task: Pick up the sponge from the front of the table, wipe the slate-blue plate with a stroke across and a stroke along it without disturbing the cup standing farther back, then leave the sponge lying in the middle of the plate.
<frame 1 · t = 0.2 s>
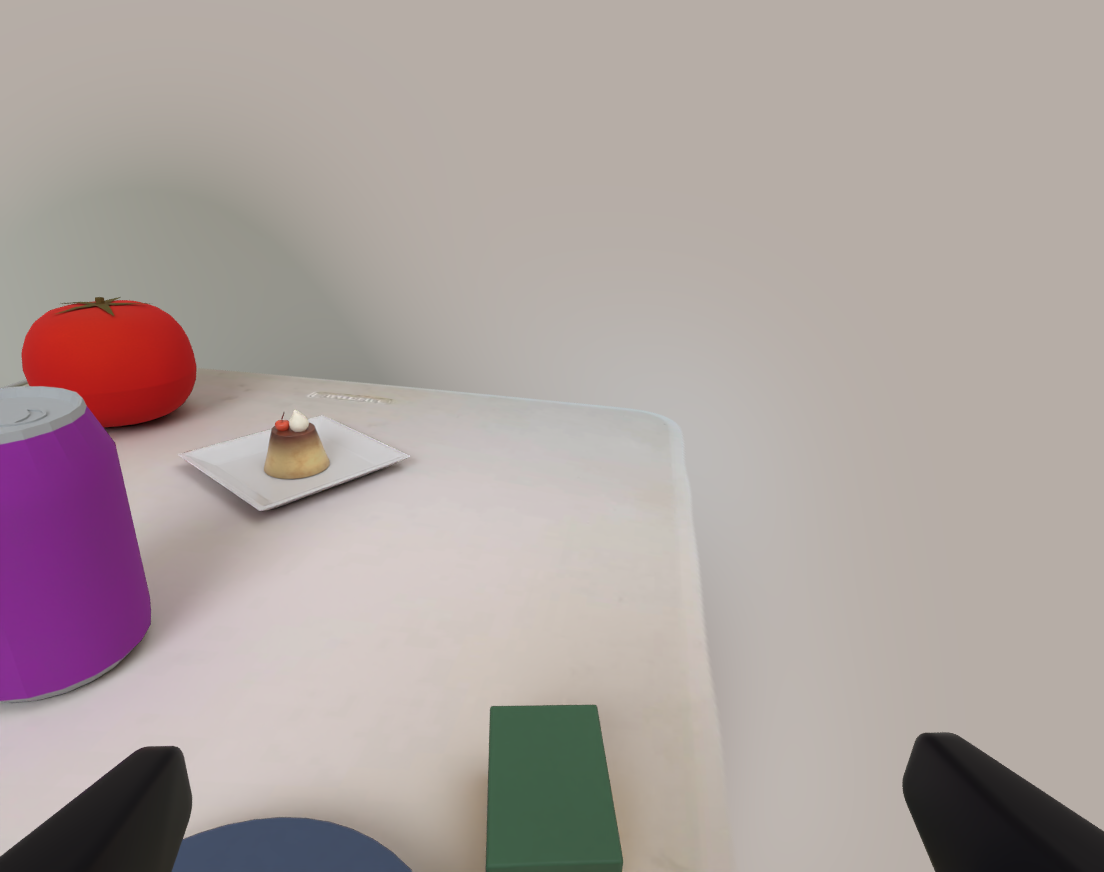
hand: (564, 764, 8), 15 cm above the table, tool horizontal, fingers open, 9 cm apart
dessert: (298, 470, 49), on the table
beverage can: (62, 655, 30), on the table
sponge: (544, 845, 23), on the table
tomato: (126, 422, 56), on the table
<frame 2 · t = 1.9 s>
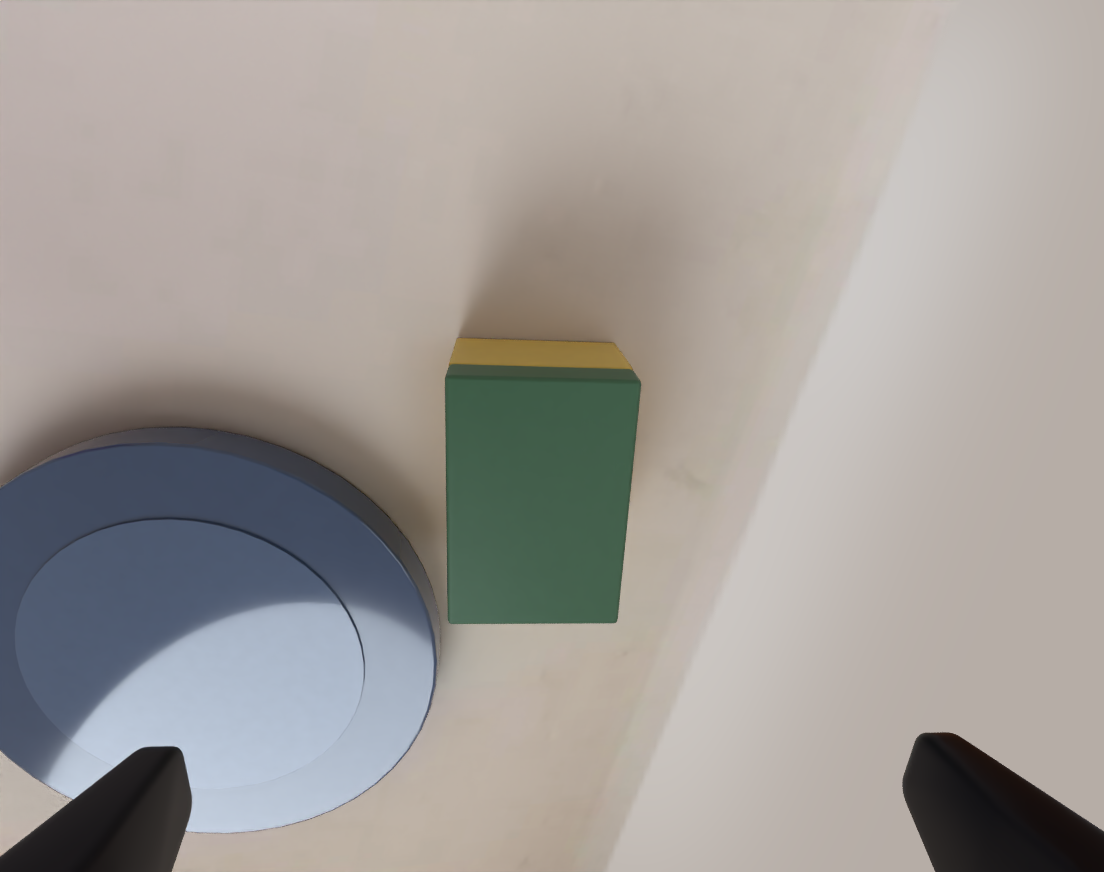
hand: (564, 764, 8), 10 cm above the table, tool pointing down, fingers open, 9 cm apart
plate: (214, 636, 19), on the table
sponge: (532, 450, 17), on the table
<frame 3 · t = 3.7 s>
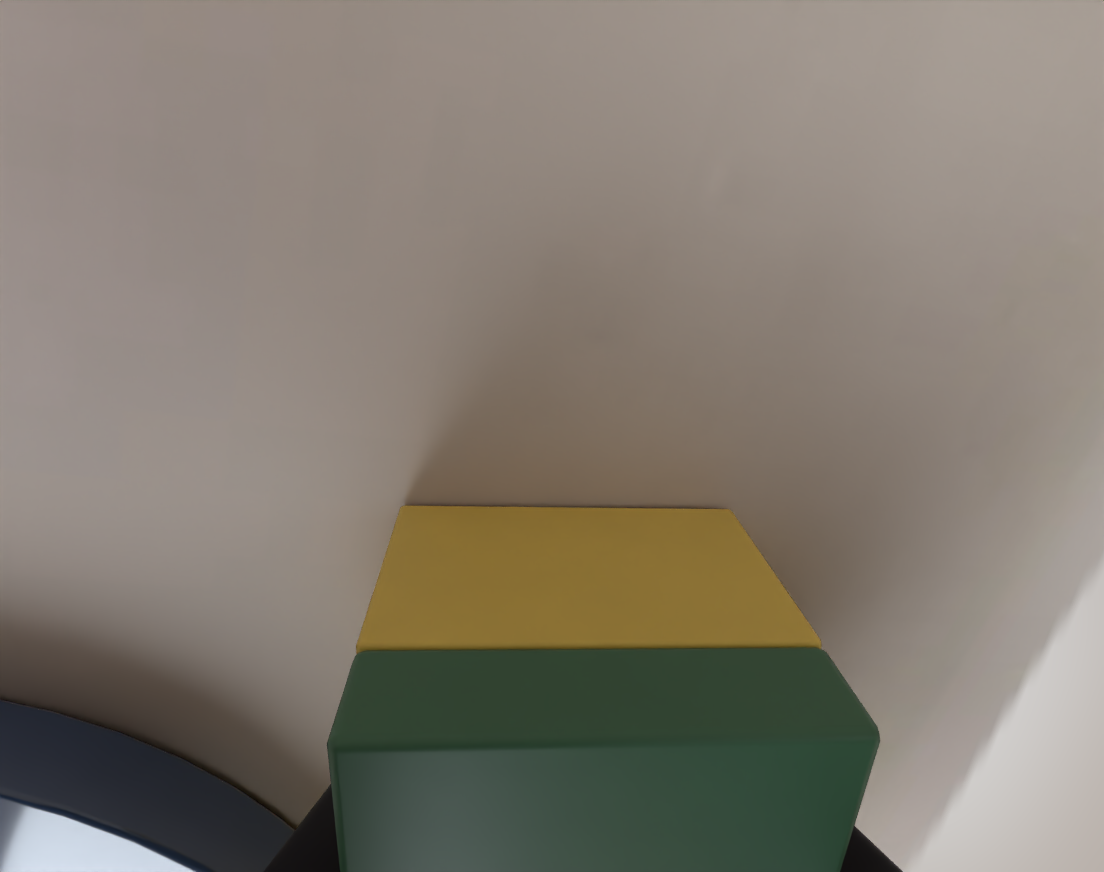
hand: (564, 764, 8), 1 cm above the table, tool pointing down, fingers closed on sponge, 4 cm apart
sponge: (556, 700, 9), on the table, touching gripper
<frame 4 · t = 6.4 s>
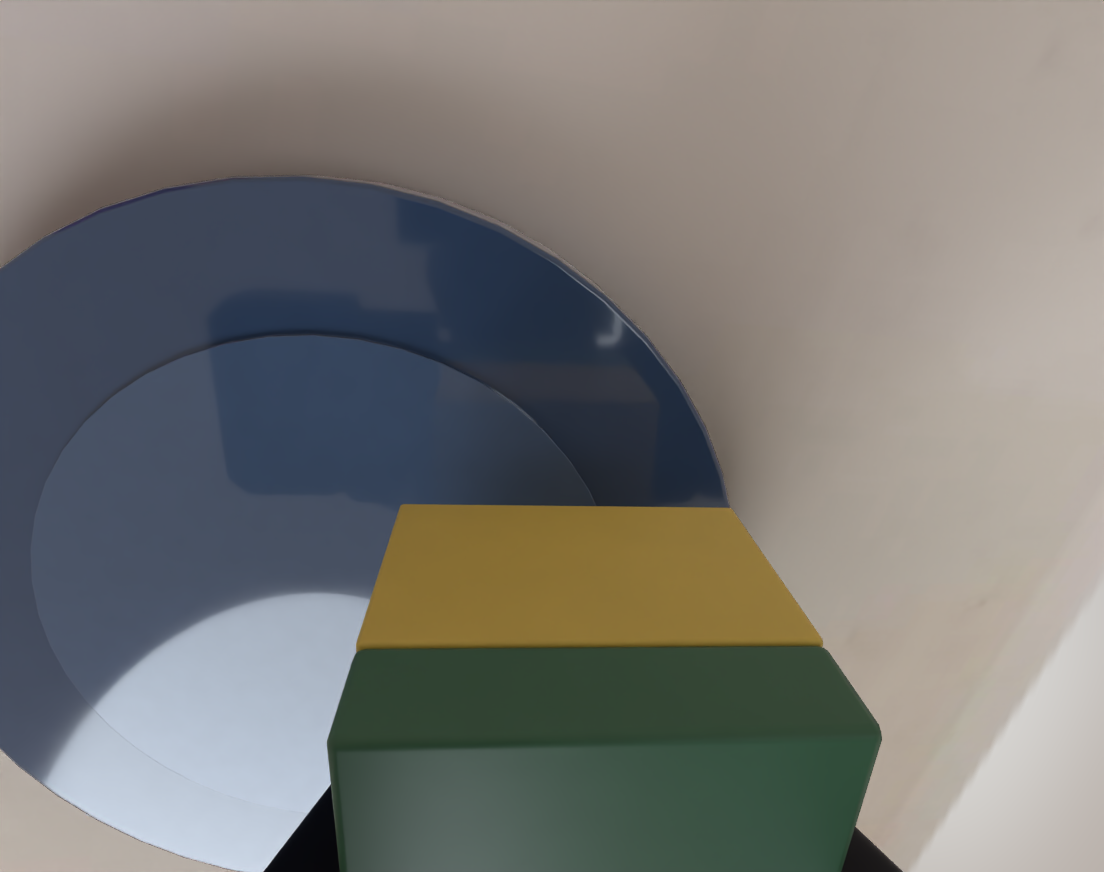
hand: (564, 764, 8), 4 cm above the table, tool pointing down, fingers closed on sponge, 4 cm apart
plate: (354, 569, 12), on the table
sponge: (556, 700, 9), point 3 cm above the table, touching gripper
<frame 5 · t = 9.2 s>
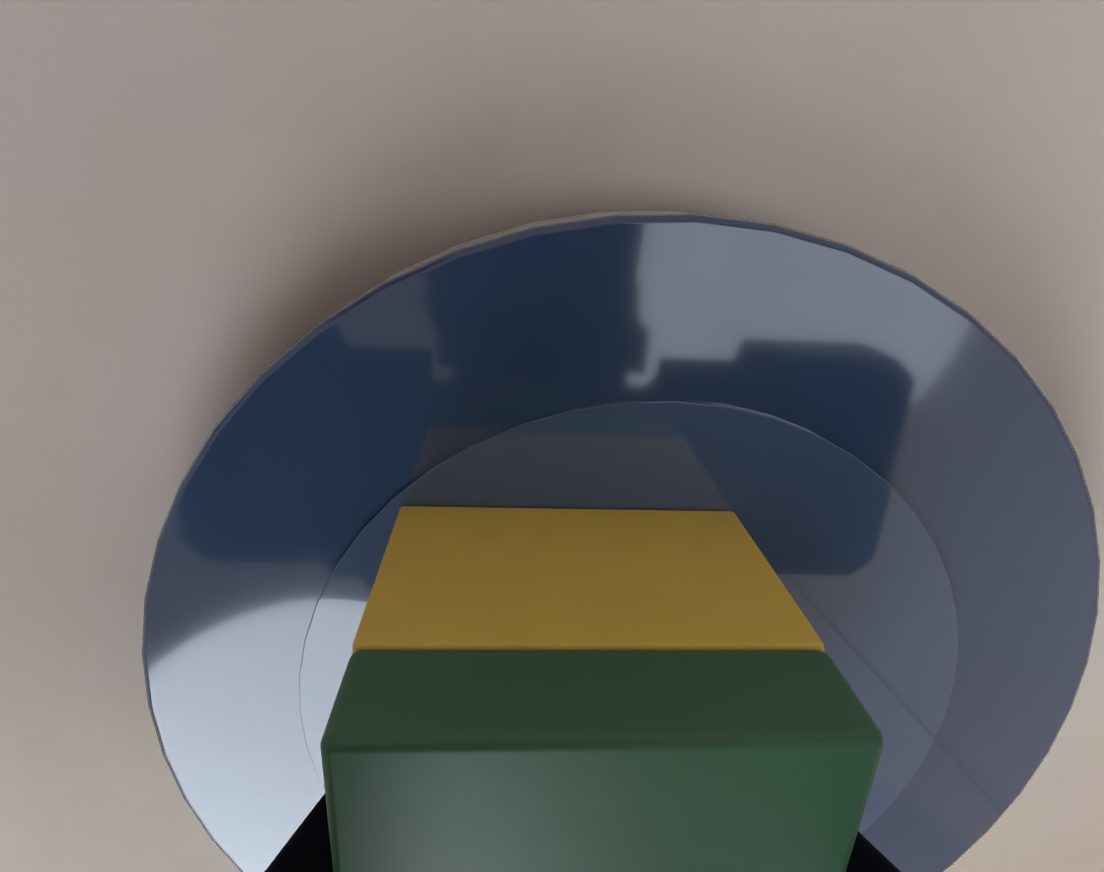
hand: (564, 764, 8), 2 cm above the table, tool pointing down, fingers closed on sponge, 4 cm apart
plate: (620, 650, 10), on the table
sponge: (557, 704, 9), point 1 cm above the table, touching gripper, plate
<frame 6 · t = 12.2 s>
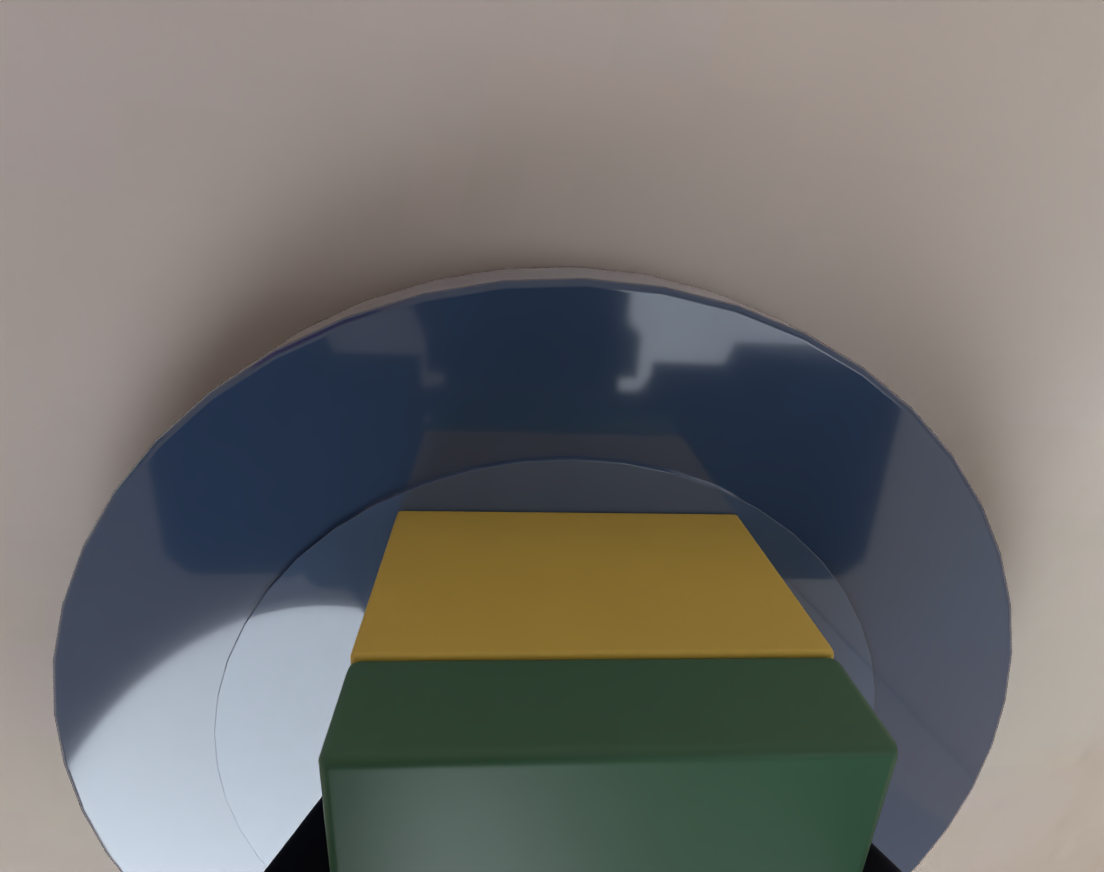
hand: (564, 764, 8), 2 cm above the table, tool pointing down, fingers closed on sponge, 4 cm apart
plate: (549, 693, 10), on the table
sponge: (558, 711, 9), point 1 cm above the table, touching gripper
when the fingers open (2 cm above the table, at t = 14.5 s): sponge stays where it is, resting on plate.
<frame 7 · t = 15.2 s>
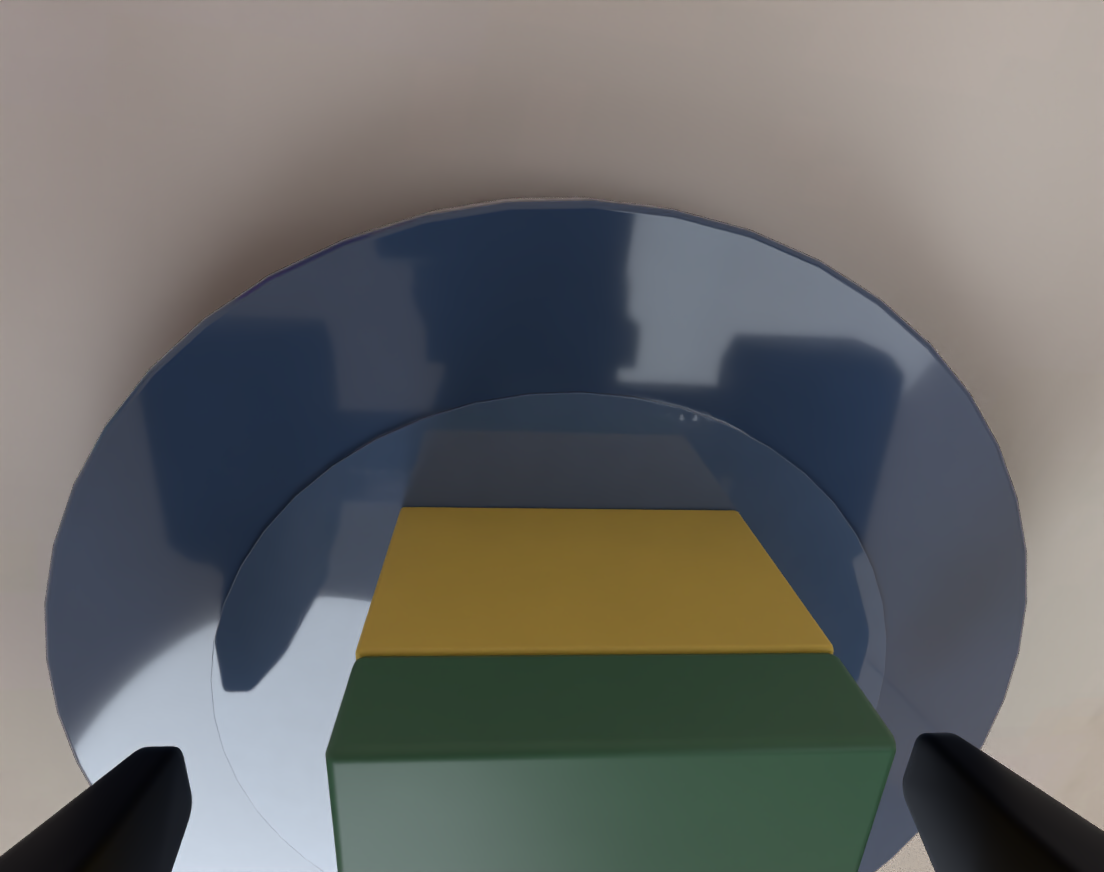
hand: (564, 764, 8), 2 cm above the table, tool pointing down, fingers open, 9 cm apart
plate: (553, 648, 10), on the table
sponge: (559, 705, 9), point 1 cm above the table, touching plate
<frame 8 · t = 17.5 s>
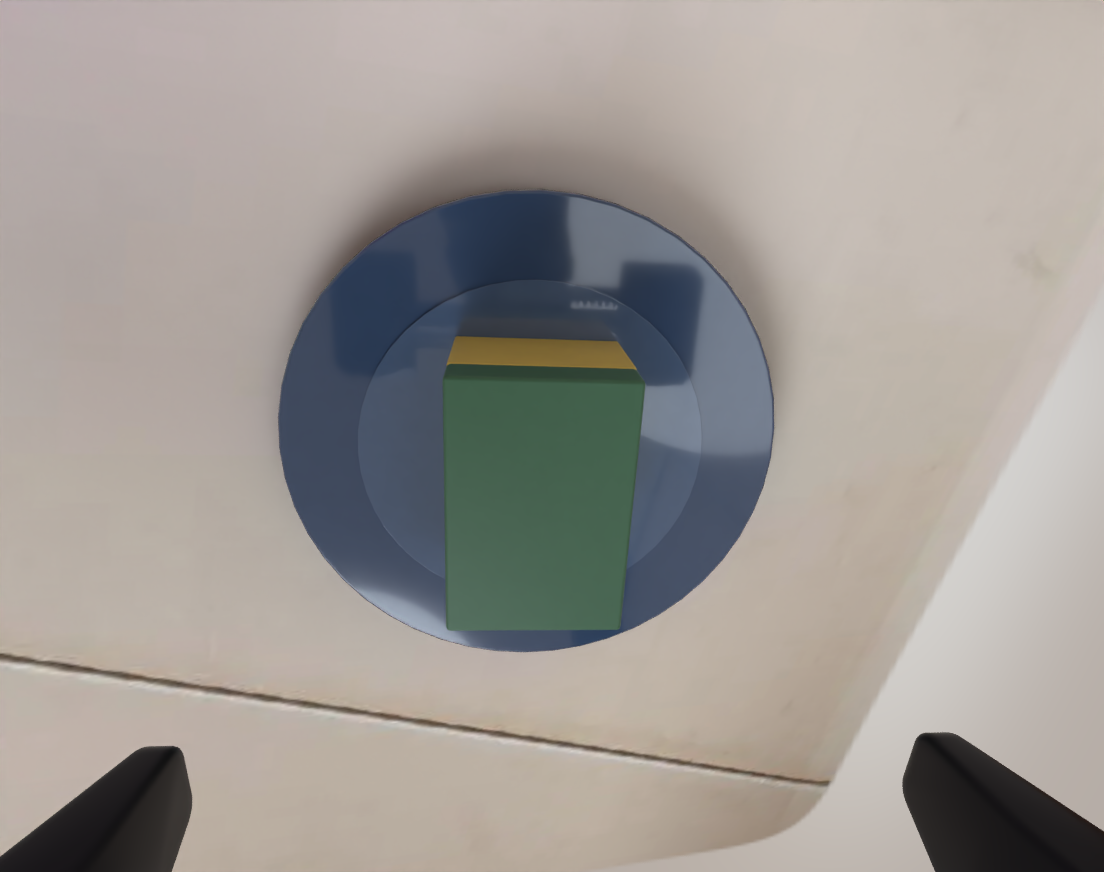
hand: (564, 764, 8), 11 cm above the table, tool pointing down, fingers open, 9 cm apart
plate: (531, 436, 18), on the table
sponge: (532, 451, 17), point 1 cm above the table, touching plate
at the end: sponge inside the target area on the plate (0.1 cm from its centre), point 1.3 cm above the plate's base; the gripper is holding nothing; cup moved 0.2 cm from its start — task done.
